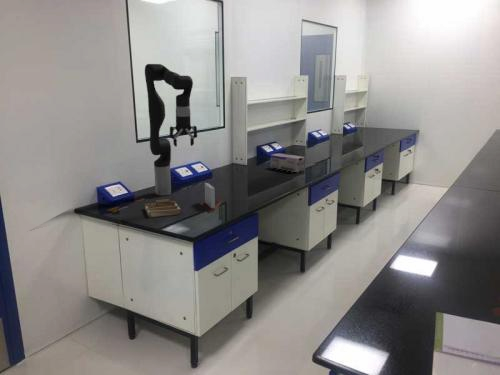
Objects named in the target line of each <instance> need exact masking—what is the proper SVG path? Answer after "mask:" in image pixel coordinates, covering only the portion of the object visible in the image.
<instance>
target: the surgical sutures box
mask: <svg viewBox="0 0 500 375" xmlns="http://www.w3.org/2000/svg"><path fill="white" fill-rule="evenodd" d="M269 161H270V163H269V164H270V165H269V167H274V168H278V169H283V170H287V171H286V172H288V171H291V172H290V173H293V172H298V173H300V172H299V171H302V172H304V171H305V164H306V162H305V161H306V157H305V156H299V155H296V154H295V155H294V154H287V153H281V152H278V153H273V154H270V160H269ZM278 169H277V170H278ZM283 170H282V171H283ZM303 170H304V171H303Z"/></svg>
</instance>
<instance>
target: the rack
mask: <svg viewBox="0 0 500 375" xmlns="http://www.w3.org/2000/svg"><path fill="white" fill-rule="evenodd" d="M155 204H156V202H154V203H153V202H152V203H145V204H144V210H145V211H146V215H147V216H148V218H156V217H167V216H175V215H182V208H180V206H179V205H178V204H177V202H176V201H175V200H174V201H173V200H172V201H171V205H172V206H166V207H156V208H151V205H155Z"/></svg>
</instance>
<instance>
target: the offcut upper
mask: <svg viewBox="0 0 500 375" xmlns="http://www.w3.org/2000/svg"><path fill="white" fill-rule="evenodd" d="M171 202H172V201H171V199H169V198H166V199H157V200H155V203H156V206H157V207H159V206H167V205H171Z"/></svg>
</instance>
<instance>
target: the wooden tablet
mask: <svg viewBox="0 0 500 375" xmlns="http://www.w3.org/2000/svg"><path fill="white" fill-rule="evenodd" d="M222 202H223V199H215V208H212V209H211V208H210V207H209V206H208V205H207V204H206V203H205V200H204V201H203V202H202V203H201V205H200V206H201V207H202V209H204V210H205V211H206V212H207V213H208V214H212V213H214V212H215V211H216V210H217V209H218V208H219V207H220V205H221V203H222Z"/></svg>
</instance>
